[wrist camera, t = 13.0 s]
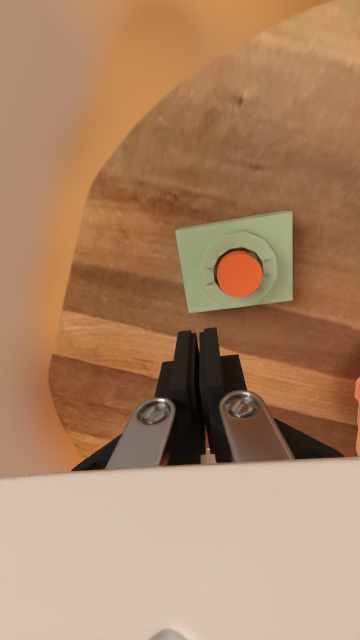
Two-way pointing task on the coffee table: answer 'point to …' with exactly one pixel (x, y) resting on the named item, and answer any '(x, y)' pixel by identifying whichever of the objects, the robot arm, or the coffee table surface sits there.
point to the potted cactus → (359, 397)
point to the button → (239, 273)
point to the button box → (231, 235)
